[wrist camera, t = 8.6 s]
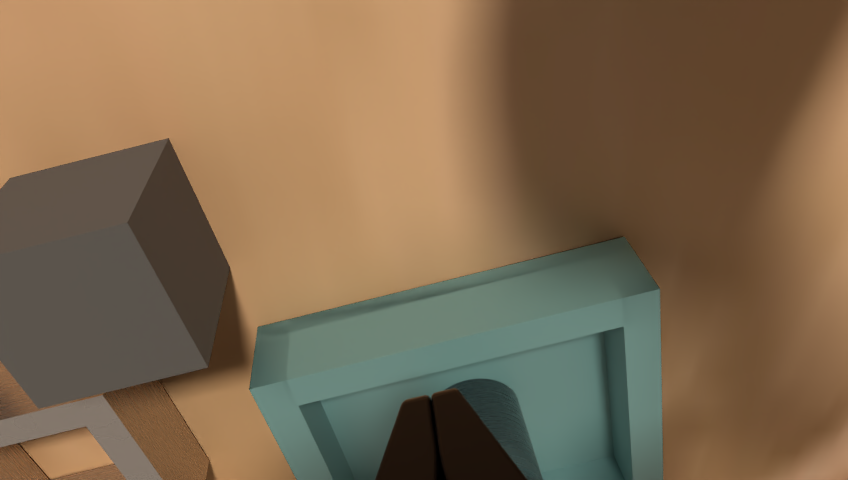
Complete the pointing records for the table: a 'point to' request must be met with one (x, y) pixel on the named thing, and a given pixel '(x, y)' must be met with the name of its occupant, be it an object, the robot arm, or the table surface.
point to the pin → (502, 420)
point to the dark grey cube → (106, 275)
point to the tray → (479, 365)
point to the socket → (103, 433)
